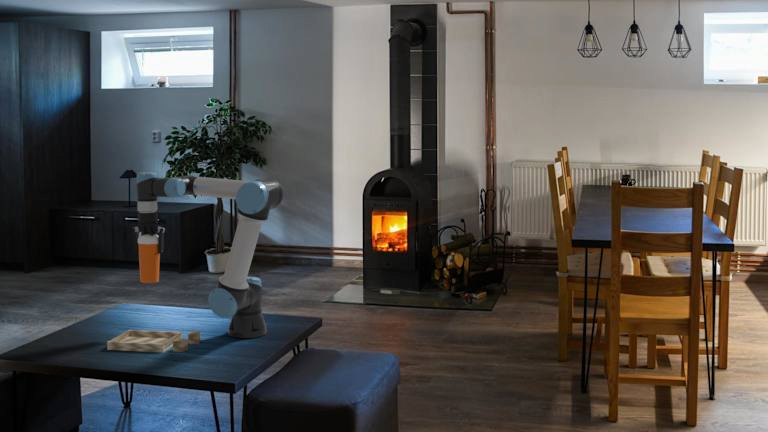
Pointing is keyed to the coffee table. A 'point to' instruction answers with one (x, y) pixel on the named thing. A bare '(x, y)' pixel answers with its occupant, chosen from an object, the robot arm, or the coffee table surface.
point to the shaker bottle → (148, 258)
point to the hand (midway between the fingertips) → (149, 270)
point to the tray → (143, 341)
